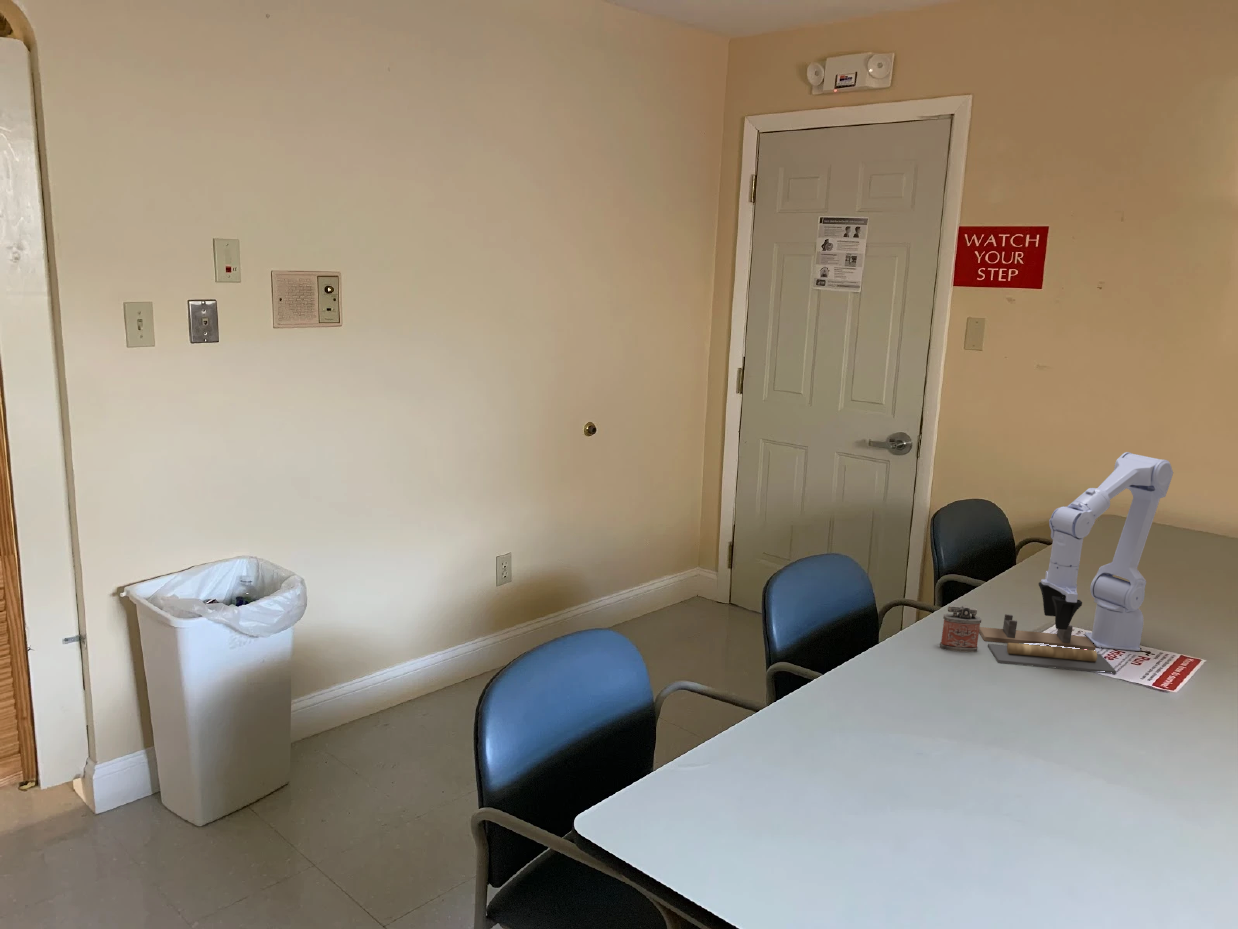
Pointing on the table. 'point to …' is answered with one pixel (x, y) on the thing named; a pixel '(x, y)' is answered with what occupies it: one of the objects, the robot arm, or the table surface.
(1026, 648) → the rail
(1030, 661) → the mat
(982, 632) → the hook stand
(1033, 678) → the table surface
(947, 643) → the lighter
